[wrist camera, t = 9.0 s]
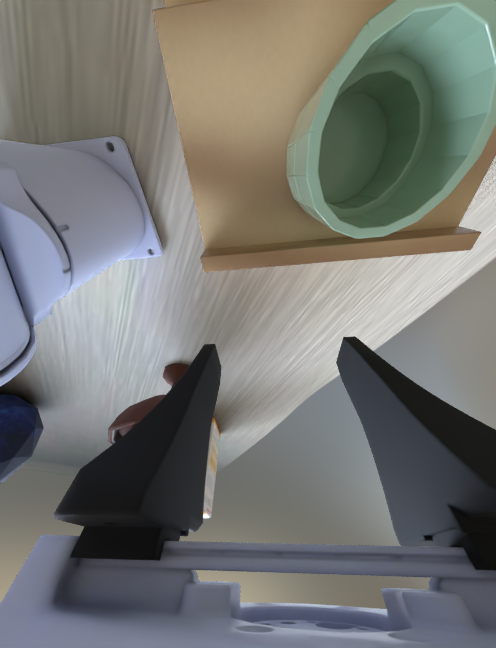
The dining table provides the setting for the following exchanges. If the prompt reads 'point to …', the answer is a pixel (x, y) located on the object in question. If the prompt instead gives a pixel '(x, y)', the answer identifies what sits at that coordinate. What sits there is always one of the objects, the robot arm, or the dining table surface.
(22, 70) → the dining table surface
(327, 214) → the green cup
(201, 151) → the shelf
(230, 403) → the dining table surface
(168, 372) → the ice cream bowl
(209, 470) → the supplement box
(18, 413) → the decorative orb
